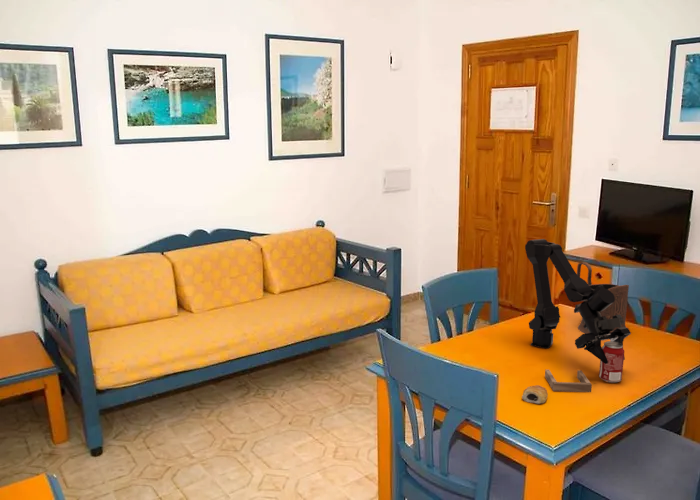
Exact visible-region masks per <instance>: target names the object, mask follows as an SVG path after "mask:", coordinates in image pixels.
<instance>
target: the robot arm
mask: <svg viewBox="0 0 700 500" xmlns="http://www.w3.org/2000/svg"><path fill="white" fill-rule="evenodd" d="M524 249H525V250H524V251H525V254H526V257H527V259H528V260H529V262H530V263H531V264H532V271H533V277H534V284H535V285H534V286H535V292H536V299H537V301H536V302H537V304H536V306H535V309H534V317H533V318H532V319H531V320H530V321H529V322H528V327H529V329H530V330H532V336H531V337H532V338H531V343H530V346H532V347H537V348H542V349H543V348H544V349H550V347H551V346H553V344H554V332H553V330H556V329H557V327H558V324H559V323H560V320H561V319H560V318H561V315H560V308H559V306H557V305H556V306H555V304H554V302H553V300H552V295H551V286H550V277H549V270H548V261H549V260H550V261H551V262H552V263H551V264H553V267H554V268H555V269H556V271H557V273H558V275H559V276H560V278H561V281H563V283H564V284H563V290H564V293H565V295H566V297H567V300H569V301H570V303H571V302H573V303H578V302H581V303H578V304H575V306H574V309H573V314H576V313H577V314H578V313H579V314H580V316H581V320H582V319H583V320H584V322H585V325H584V328H588V330H589V332H590V333H586V334H585V333H582V334H581V335H580V336H578V337H577V338H575V340H574V345H575V348H576V349H577V350H580V349H583V350H585V351H587V352H589V353H590V354H592V355H594V356H595V357H596V359H599V360H601V361H602V362H603V363H605V364H607V363H608V360H607V358H606V356H605V354H604V352H603V349H602V347H603V346H602V341H606V340H607V341H608V340H609V341H613V342H618V343H621V344H622V345H623V346H624V341H625V339H627V337H629V336H630V335H631V333H632V332H631V331H630V329H629V327H627V326H626V327H621V324H623V323H624V321H623V318H622V317H621V315H614V316H613V318H612V319H607V318H606V317H605V316H601V314H600V312H601V311H603V310H604V309H606V308H607V307H608V306H609V305H611V304H612V303H613V302H614V301H615V297H614V294H613V293H611V291H609V290H608V289H605V288H604V286H603V285H602V286H598V287H596V289H595V290H593V289H592V288H591V287H590V286H589V285H588V281H586V280H585V279H583V278H582V277H581V276H580V277H579V276H578V275H577V271H575V269H574V268H573V266H572V264H571V263H570V261H569V259H568V258H567V256H566V255H565V253H564V251H563V248H562V246H561V244H558V243H555V242H550V241H547V239H545V238H541V239H531V240H528V241H527V242H526V244H525V246H524ZM586 300H588V301H586ZM583 301H584V302H583ZM616 327H619V328H617V329H616V330H614V328H616ZM620 327H621V328H620ZM612 330H614V331H613V332H611V333H610V331H612ZM605 336H606V337H605ZM625 360H626V358H625V356H624V361H625Z"/></svg>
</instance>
